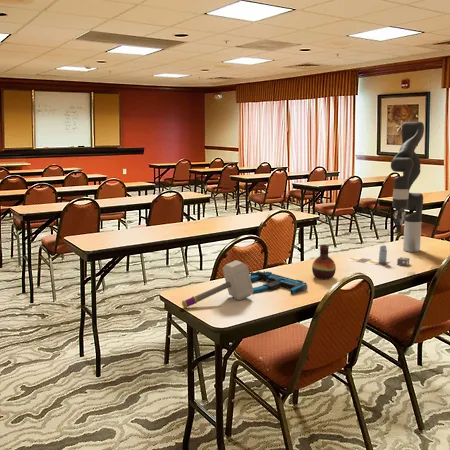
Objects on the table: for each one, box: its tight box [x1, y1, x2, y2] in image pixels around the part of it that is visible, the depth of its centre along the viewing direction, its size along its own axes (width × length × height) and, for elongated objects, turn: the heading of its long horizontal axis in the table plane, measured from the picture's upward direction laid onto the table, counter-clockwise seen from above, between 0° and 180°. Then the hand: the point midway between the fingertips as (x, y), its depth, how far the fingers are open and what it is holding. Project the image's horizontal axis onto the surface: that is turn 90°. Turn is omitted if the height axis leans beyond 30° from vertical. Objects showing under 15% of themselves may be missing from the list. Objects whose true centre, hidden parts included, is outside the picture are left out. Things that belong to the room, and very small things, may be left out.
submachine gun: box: [249, 270, 308, 295], centre depth 242 cm, size 34×4×25 cm
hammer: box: [181, 259, 254, 309], centre depth 219 cm, size 15×8×30 cm
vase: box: [311, 244, 337, 281], centre depth 254 cm, size 11×11×15 cm
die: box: [396, 256, 410, 267], centre depth 272 cm, size 5×5×5 cm
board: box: [347, 256, 391, 267], centre depth 280 cm, size 10×21×1 cm, turn 51°
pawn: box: [378, 244, 388, 265], centre depth 274 cm, size 4×4×10 cm
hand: (398, 231), depth 271 cm, fingers closed
